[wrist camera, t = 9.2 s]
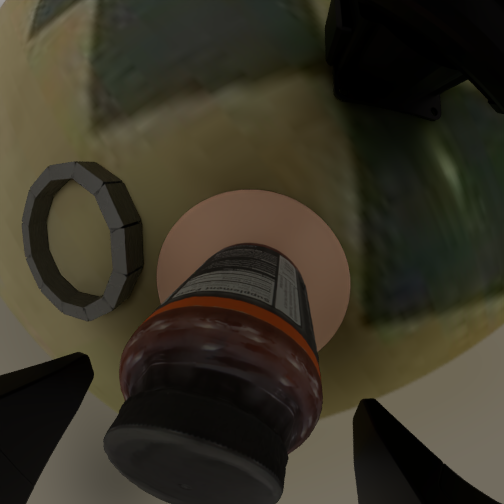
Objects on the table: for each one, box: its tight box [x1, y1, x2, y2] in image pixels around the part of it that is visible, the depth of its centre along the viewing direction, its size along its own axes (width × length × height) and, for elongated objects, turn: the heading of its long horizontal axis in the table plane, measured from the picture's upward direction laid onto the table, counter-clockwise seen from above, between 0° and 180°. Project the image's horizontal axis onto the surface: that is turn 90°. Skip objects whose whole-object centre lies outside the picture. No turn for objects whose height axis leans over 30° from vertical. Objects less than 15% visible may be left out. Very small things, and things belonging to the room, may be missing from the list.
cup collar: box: [22, 162, 143, 321], centre depth 15 cm, size 10×10×2 cm
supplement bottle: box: [103, 243, 323, 504], centre depth 9 cm, size 6×6×11 cm
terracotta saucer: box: [157, 189, 350, 352], centre depth 15 cm, size 11×11×1 cm
